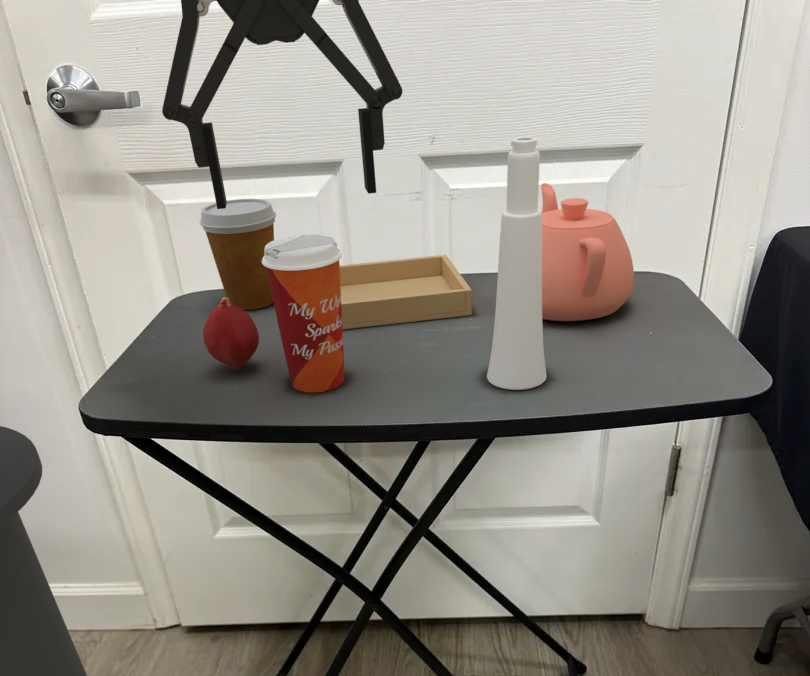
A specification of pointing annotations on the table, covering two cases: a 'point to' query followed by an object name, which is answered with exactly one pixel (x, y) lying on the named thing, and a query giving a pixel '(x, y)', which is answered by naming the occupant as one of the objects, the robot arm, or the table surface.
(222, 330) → the onion
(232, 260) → the disposable coffee cup
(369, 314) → the tray
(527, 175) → the cosmetic bottle
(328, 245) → the paper cup
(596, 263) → the teapot
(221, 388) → the table surface
